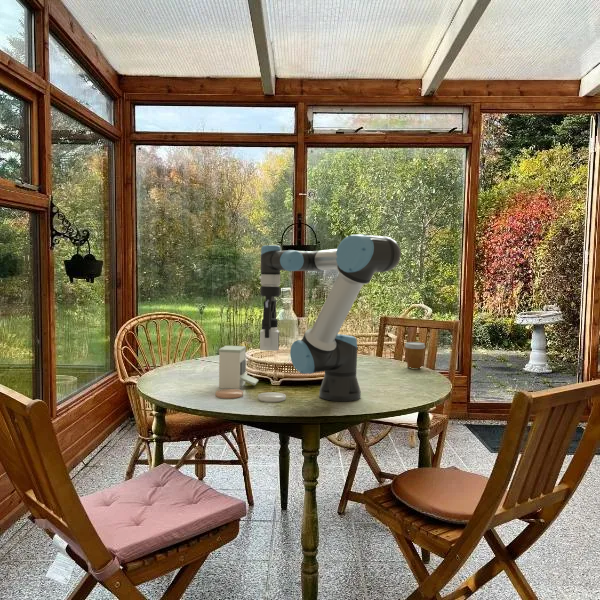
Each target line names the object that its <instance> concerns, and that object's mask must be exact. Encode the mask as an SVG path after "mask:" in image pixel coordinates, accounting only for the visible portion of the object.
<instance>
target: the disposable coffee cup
mask: <svg viewBox="0 0 600 600" xmlns="http://www.w3.org/2000/svg"><path fill="white" fill-rule="evenodd" d="M404 347H405V352H406V363H407V365H406V366H407V368H408V367H411V368H420V367H421V368H422V364H423V358H424V353H425V352H424V351H425V348H426V344H425V342H419V341H407V342H405V345H404Z"/></svg>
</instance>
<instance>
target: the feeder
mask: <svg viewBox="0 0 600 600" xmlns="http://www.w3.org/2000/svg"><path fill="white" fill-rule="evenodd" d="M246 350H247V346H244V345H224V346H223V347H220V348H219V349H218V354H219V356H218V359H219V362H218V366H219V367H218V370H219V371H218V388H219V389H238V390H241V388H242V387H243V386H244V385H245V384H246V383H248V384H250V385H252V386H256V385H257V383H259V379H257V378H256V377H252V376H250V375H248V374H246V372H247V371H246V370H247V369H246V368H247V367H246V366H247V365H246V363H247V359H246Z"/></svg>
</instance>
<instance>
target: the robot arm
mask: <svg viewBox="0 0 600 600" xmlns="http://www.w3.org/2000/svg"><path fill="white" fill-rule="evenodd" d="M281 248H282V247H281V246H280V245H278V244H277V245H274V244H269V245H266V244H264V245H262V246H261V247H260V249H261V251H260V276H259V277H258V278H259V280H260V285H261V286H260V294H259V295H260V296H261V297H265V300H264V301H263V302H262V304H263V314H262V315H263V316H262V319H263V327H262V326H261V330H263V329H264V346H267V347H271V318H275V319H277V299H275V297H279V296H281V287H280V285H281V271H283V272H284V271H285V272H286V271H287V272H304V271H306V272H323V271H329V270H330V271H331V270H337V272H338V274H337V277H336V278H335V280H334V283H333V284H332V287H331V288H330V291H329V293H328V295H327V297H326V299H325V300H324V303H323V305H322V307H321V310H320V312H319V313H318V315H317V317H316V319H315V322H314V323H313V326H312V328H308V329H307V330H306V331H305V333H303V334H304V335H303V337H302V339H297V340H295V341H293V343H292V345H291V346H290V350H289V351H290V353H289V354H290V355H289V357H290V359H291V363H292V365H293V367H294V369H295V370H296V371H297V372H298V373H300V374H309V375H312V374H314V373H320V372H324V375H323V379H322V381H321V385H320V389H319V393H318V394H319V395H318V396H319V398H321V399H323V400H327V401H332V402H352V400H354V401H357V399H358V400H360V399H361V398H360V397H362V395H361V394H362V393H361V392H362V391H361V388H360V385H359V380H358V377H357V367H358V365H357V363H358V362H357V361H358V350H359V349H358V339H357V338H356V336H353V335H348V334H342V333H341V334H340V333H339V332H340V330H341V328H342V326H343V324H344V323H345V320H346V319H347V316H348V315H349V312H350V310H351V309H352V306H353V305H354V302H355V301H356V299H357V297H358V296H359V293H360V291H361V289H362V287H363V286H364V285H367V284H369V283H370V282H371V281H372V278H373V277H374V274H375V273H386V272H389V271H391V270H393V269H395V268H396V267H397V265H398V264H399V263H400V260H401V256H402V254H401V253H402V252H401V248H400V246H399V243H397V241H396V240H395V239H393V238H392V237H388V236H386V235H385V236H384V235H370V234H369V235H368V234H363V233H359V234H350V235H348V236H346V237H344V238H343V239H342V240H341V241H340V243H339V244H338V246H337V248H333V249H332V248H331V249H323V250H313V251H311V250H310V251H308V250H306V251H305V250H294V249H288V250H284V249H283V250H282V249H281ZM359 398H360V399H359Z"/></svg>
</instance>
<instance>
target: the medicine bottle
mask: <svg viewBox="0 0 600 600" xmlns="http://www.w3.org/2000/svg"><path fill="white" fill-rule="evenodd" d="M278 325H279V324H278V319H277V318H276V319H275V318H271V347H267V346H264V329H260V332H259V351H265V352H266V351H268V352H269V351H275V352H276V351H279V349H280V343H279V342H280V331H279V329H278ZM262 327H263V318H262V319H261V328H262Z"/></svg>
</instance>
